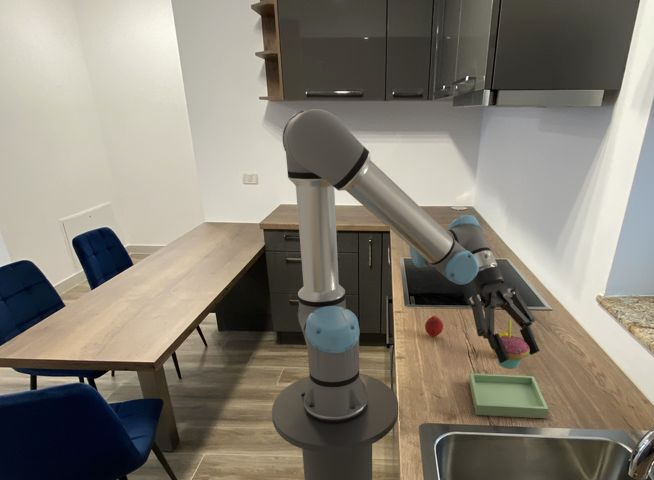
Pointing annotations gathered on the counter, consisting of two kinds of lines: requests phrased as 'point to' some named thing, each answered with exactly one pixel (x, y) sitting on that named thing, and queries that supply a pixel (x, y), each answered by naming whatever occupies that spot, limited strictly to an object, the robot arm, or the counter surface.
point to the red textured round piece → (434, 326)
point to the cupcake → (513, 349)
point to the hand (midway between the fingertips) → (519, 356)
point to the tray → (507, 396)
